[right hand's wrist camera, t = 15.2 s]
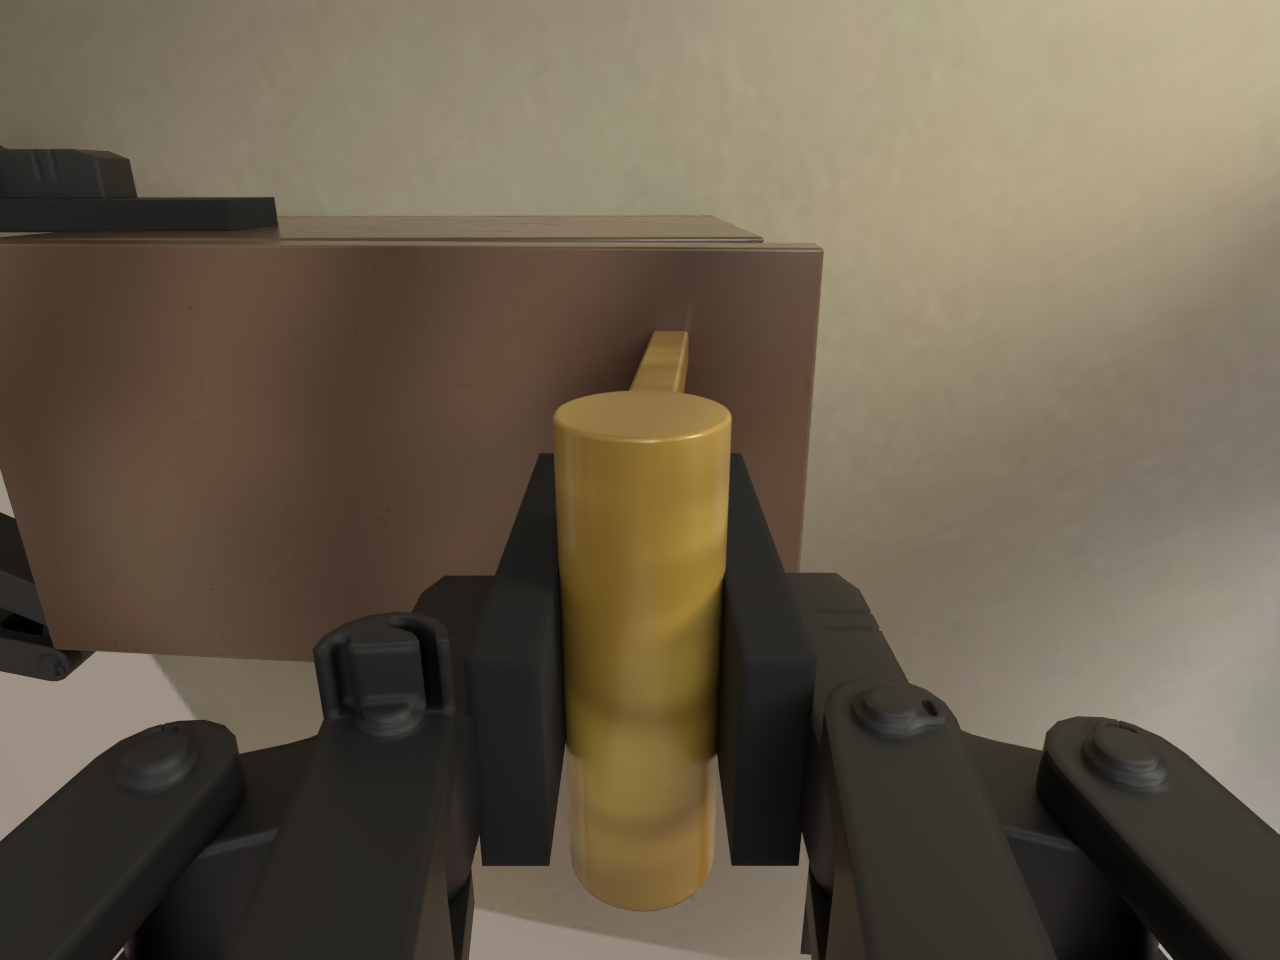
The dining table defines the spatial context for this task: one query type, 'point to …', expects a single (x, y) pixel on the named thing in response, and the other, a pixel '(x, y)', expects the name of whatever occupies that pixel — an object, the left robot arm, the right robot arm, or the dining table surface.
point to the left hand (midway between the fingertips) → (285, 402)
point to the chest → (454, 230)
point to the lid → (420, 467)
